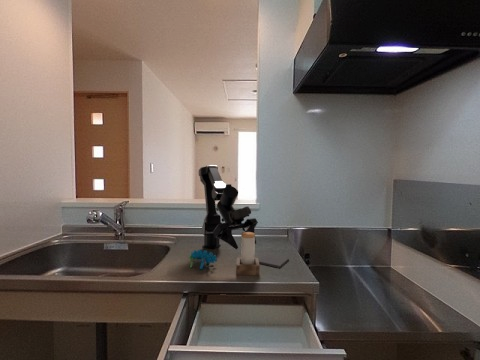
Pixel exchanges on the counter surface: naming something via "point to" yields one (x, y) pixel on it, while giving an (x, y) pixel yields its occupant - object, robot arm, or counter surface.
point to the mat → (273, 260)
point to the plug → (247, 248)
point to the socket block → (247, 268)
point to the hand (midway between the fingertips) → (246, 246)
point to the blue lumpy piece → (202, 257)
